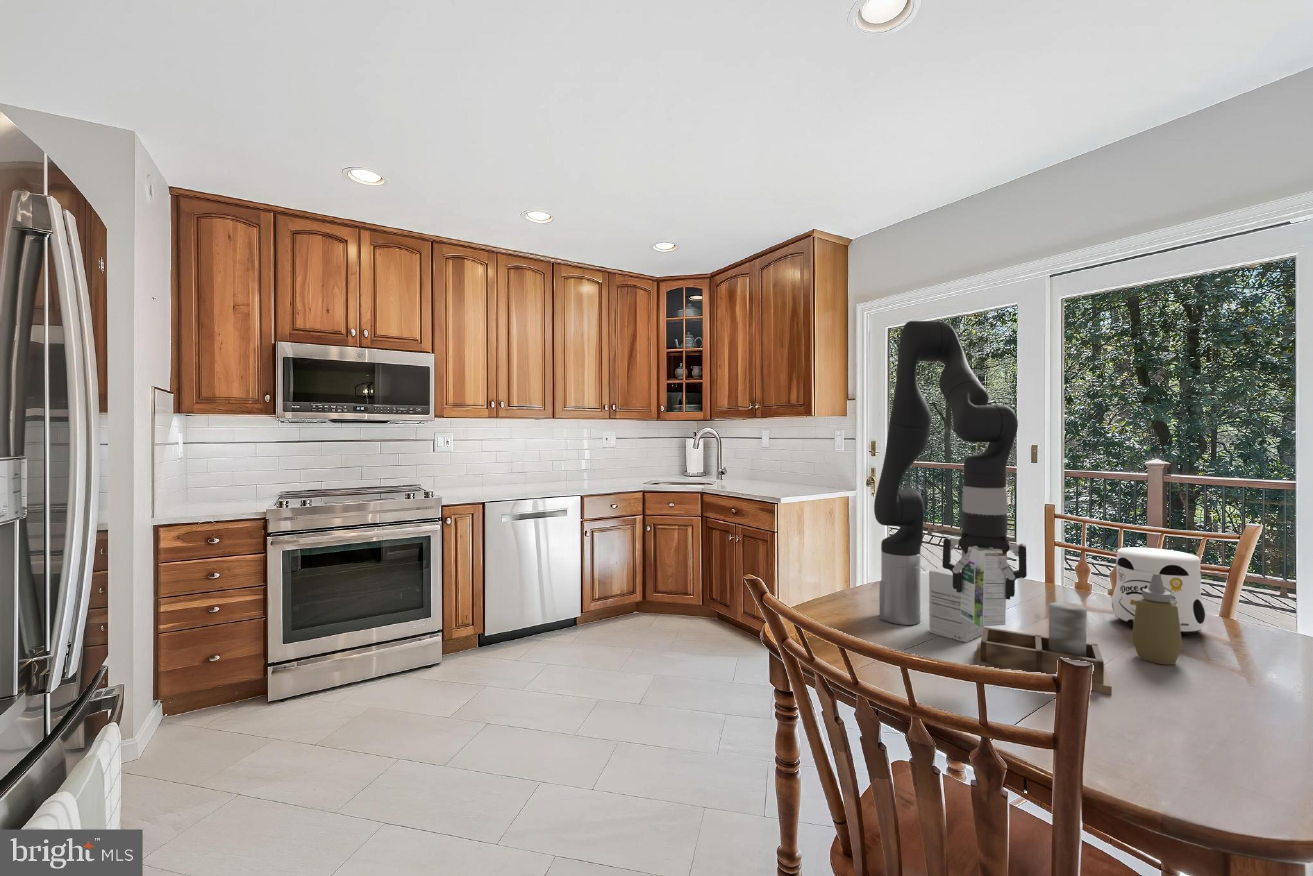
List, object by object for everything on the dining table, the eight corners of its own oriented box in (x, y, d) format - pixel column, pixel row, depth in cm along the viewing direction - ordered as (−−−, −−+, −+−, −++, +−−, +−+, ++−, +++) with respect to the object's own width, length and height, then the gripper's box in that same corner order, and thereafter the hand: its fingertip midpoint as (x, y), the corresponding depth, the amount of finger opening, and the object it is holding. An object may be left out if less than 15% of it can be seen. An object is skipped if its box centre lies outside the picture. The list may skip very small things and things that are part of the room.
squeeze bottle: (1170, 655, 124) (1170, 571, 124) (1190, 670, 116) (1191, 580, 116) (1124, 650, 127) (1125, 568, 126) (1141, 664, 119) (1142, 577, 119)
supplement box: (947, 624, 144) (947, 564, 144) (985, 635, 137) (985, 571, 137) (927, 632, 139) (927, 569, 139) (965, 643, 132) (966, 577, 131)
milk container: (1126, 634, 137) (1126, 558, 136) (1101, 612, 153) (1102, 544, 153) (1221, 644, 130) (1222, 564, 130) (1185, 620, 146) (1185, 549, 146)
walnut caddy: (974, 669, 117) (974, 602, 117) (977, 649, 128) (977, 588, 127) (1111, 694, 106) (1111, 621, 106) (1103, 671, 116) (1104, 604, 116)
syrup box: (958, 616, 114) (959, 543, 114) (987, 615, 114) (988, 542, 114) (977, 627, 108) (978, 549, 108) (1007, 626, 109) (1008, 548, 108)
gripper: (940, 509, 111) (939, 594, 112) (1028, 516, 104) (1027, 606, 104) (944, 504, 118) (943, 585, 118) (1028, 510, 110) (1027, 596, 111)
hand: (983, 595), depth 111 cm, fingers closed on syrup box, 7 cm apart
